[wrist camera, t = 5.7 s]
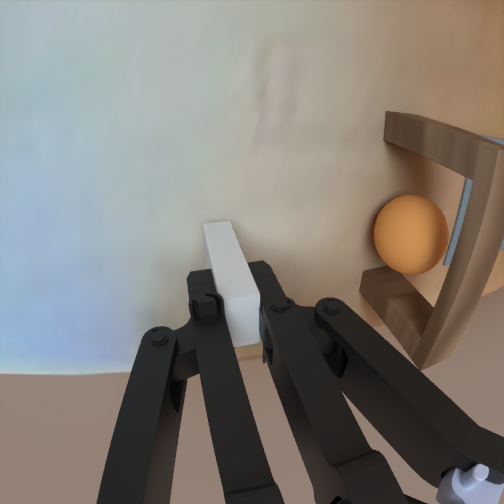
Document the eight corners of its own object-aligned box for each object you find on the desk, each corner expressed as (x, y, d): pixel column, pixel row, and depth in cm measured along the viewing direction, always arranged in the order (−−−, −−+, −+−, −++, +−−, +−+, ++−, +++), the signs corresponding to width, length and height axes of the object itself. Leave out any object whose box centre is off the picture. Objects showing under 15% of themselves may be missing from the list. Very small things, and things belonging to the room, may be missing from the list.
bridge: (359, 290, 25) (419, 371, 18) (386, 111, 18) (498, 149, 10) (387, 284, 26) (449, 357, 18) (418, 115, 18) (524, 154, 11)
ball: (370, 244, 24) (365, 282, 20) (379, 179, 22) (379, 203, 17) (433, 256, 23) (441, 296, 18) (448, 192, 20) (464, 221, 15)
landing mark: (443, 264, 27) (444, 265, 27) (473, 133, 20) (474, 134, 20) (506, 247, 29) (507, 248, 29) (532, 147, 23) (533, 147, 22)
